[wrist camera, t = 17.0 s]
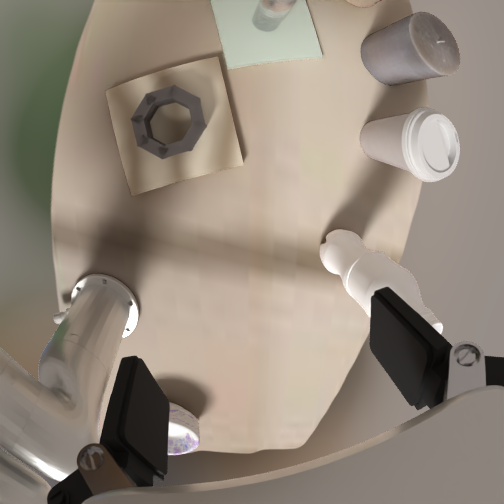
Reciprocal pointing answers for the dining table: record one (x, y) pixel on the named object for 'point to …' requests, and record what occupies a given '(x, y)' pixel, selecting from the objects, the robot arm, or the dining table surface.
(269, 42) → the sage pad
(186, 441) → the paper bowls
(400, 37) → the pillar candle
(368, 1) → the teacup with lid
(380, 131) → the coffee cup
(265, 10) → the steel peg
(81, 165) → the dining table surface
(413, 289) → the water bottle
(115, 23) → the dining table surface
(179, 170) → the block
